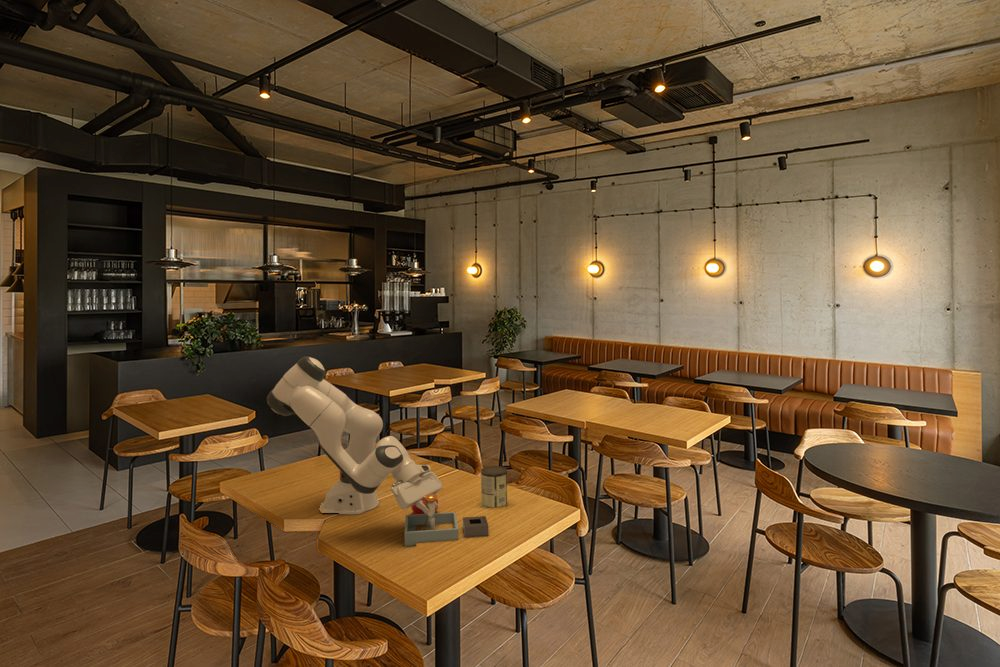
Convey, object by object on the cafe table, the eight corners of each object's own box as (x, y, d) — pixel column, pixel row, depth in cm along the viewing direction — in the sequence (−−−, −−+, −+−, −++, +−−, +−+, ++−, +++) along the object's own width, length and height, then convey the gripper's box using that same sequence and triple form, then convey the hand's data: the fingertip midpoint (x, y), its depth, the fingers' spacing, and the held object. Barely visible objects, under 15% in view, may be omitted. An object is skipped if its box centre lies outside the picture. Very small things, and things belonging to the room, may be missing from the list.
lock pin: (424, 531, 180) (424, 498, 180) (424, 525, 185) (424, 493, 184) (437, 530, 181) (437, 498, 180) (436, 525, 185) (436, 493, 185)
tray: (404, 546, 175) (404, 532, 175) (405, 527, 189) (405, 515, 189) (458, 542, 177) (458, 529, 177) (455, 524, 192) (455, 512, 192)
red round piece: (437, 520, 196) (437, 495, 195) (410, 520, 196) (409, 495, 195) (438, 508, 206) (438, 485, 205) (412, 509, 205) (412, 485, 205)
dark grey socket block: (464, 540, 179) (464, 527, 179) (462, 530, 187) (462, 517, 187) (488, 538, 180) (488, 525, 180) (485, 528, 188) (485, 516, 188)
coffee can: (488, 498, 217) (487, 464, 216) (511, 502, 212) (511, 467, 211) (476, 507, 207) (476, 471, 206) (500, 511, 203) (500, 475, 202)
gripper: (393, 480, 176) (417, 515, 172) (431, 464, 194) (454, 495, 190) (383, 491, 179) (407, 525, 174) (422, 474, 196) (443, 505, 192)
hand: (431, 509), depth 182 cm, fingers closed on lock pin, 3 cm apart
